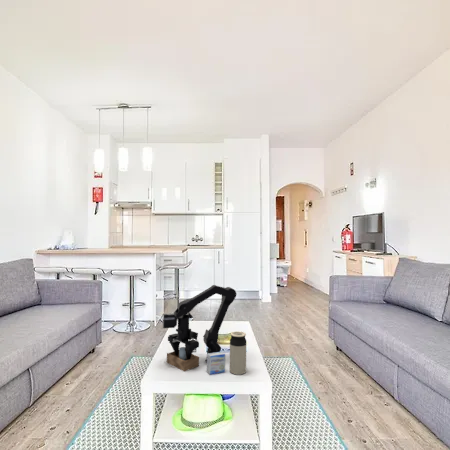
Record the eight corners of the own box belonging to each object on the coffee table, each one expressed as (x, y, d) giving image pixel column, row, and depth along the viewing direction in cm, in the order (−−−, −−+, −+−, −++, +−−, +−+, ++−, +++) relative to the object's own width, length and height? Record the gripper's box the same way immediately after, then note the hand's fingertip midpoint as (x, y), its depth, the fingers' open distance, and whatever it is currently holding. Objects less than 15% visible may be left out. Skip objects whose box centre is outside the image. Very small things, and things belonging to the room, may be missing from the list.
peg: (187, 364, 158) (187, 348, 158) (181, 366, 156) (182, 350, 156) (183, 362, 161) (183, 346, 161) (177, 364, 158) (177, 348, 158)
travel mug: (231, 375, 146) (232, 336, 147) (227, 368, 154) (228, 331, 154) (248, 374, 148) (248, 335, 148) (243, 367, 155) (243, 330, 156)
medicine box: (209, 375, 146) (210, 356, 147) (206, 371, 150) (206, 353, 151) (225, 372, 149) (225, 354, 150) (221, 368, 153) (221, 350, 154)
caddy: (198, 366, 156) (199, 356, 156) (184, 371, 150) (184, 361, 150) (180, 357, 166) (181, 349, 167) (166, 362, 160) (166, 353, 160)
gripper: (207, 327, 158) (206, 359, 158) (184, 320, 171) (183, 349, 171) (190, 332, 150) (189, 365, 150) (167, 324, 163) (166, 354, 163)
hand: (182, 358), depth 158 cm, fingers open, 9 cm apart
